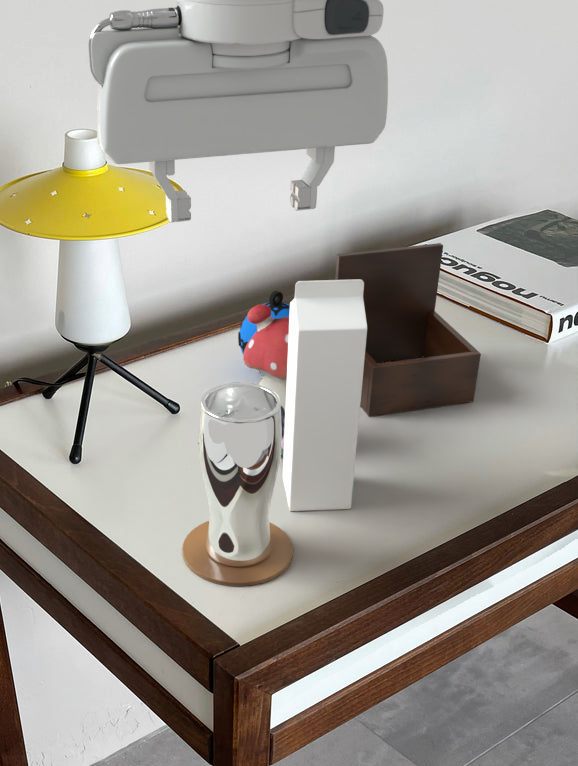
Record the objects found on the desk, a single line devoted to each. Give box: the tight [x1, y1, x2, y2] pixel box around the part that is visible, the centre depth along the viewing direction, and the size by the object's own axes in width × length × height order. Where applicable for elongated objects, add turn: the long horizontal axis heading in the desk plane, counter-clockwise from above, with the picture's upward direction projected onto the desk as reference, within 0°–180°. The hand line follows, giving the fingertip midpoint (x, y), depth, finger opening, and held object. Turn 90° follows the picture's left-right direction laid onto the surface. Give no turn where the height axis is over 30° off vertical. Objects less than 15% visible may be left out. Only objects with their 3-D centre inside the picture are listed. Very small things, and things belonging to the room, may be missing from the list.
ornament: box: [237, 290, 290, 355], centre depth 118 cm, size 9×9×10 cm
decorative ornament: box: [242, 303, 289, 459], centre depth 103 cm, size 9×6×15 cm
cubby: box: [334, 242, 482, 417], centre depth 114 cm, size 13×13×14 cm
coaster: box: [181, 520, 294, 587], centre depth 92 cm, size 10×10×1 cm
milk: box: [282, 279, 367, 512], centre depth 93 cm, size 6×6×22 cm
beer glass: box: [198, 382, 282, 567], centre depth 87 cm, size 7×7×15 cm
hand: (241, 213), depth 74 cm, fingers open, 8 cm apart
